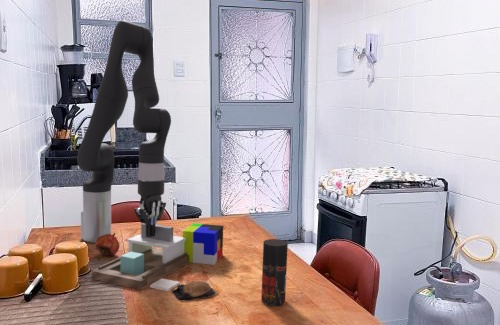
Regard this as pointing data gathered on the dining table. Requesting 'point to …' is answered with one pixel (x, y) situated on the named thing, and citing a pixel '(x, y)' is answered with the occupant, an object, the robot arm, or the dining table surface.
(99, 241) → the pomegranate
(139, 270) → the block
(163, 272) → the brown flat frame
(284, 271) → the deodorant
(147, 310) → the dining table surface
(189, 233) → the puzzle toy
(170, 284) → the pad
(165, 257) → the cover
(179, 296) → the bread roll
